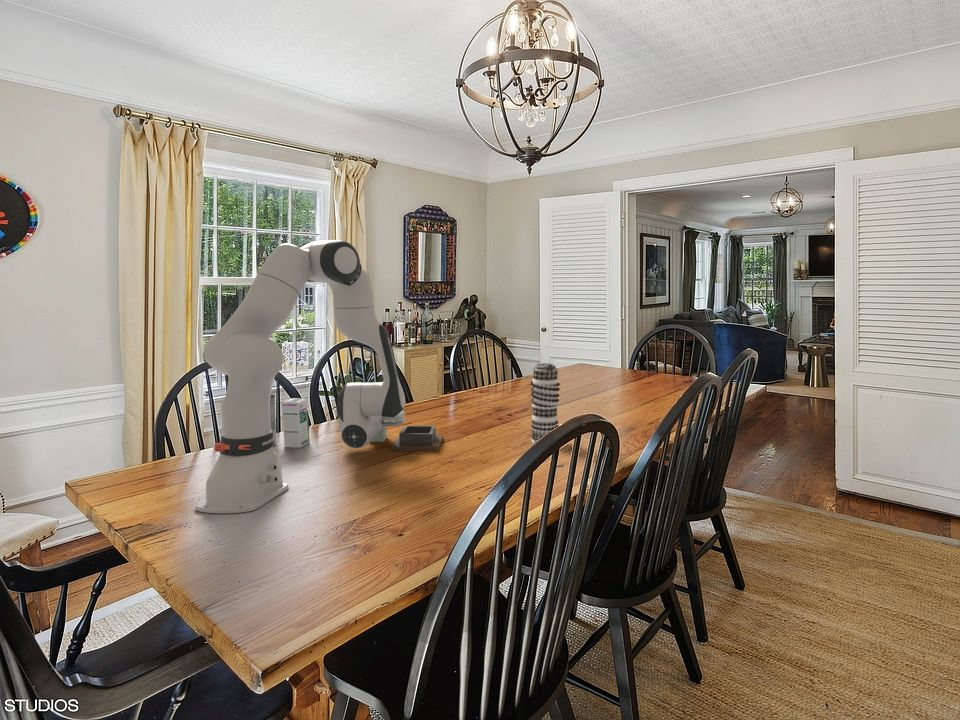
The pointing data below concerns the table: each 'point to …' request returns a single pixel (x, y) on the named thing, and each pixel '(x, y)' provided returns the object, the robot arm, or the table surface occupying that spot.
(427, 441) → the dark grey square holder
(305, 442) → the syrup box
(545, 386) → the decorative candle
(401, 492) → the table surface
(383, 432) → the sage peg
